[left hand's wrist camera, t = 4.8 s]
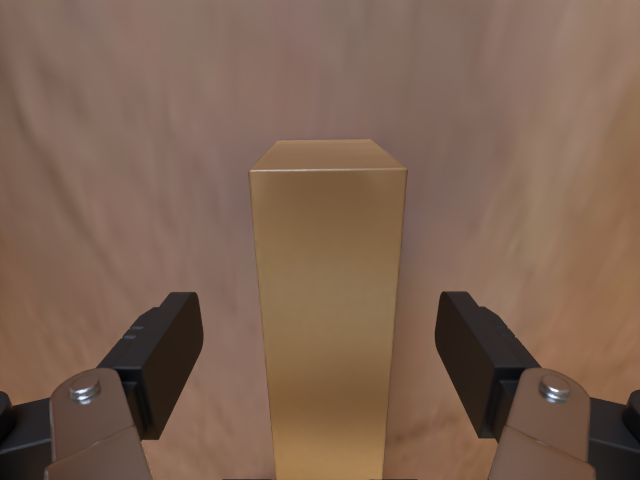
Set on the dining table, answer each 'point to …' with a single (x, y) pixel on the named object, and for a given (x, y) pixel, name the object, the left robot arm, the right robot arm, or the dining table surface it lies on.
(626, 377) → the dining table surface
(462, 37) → the dining table surface
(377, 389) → the bar
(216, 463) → the dining table surface
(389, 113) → the dining table surface
